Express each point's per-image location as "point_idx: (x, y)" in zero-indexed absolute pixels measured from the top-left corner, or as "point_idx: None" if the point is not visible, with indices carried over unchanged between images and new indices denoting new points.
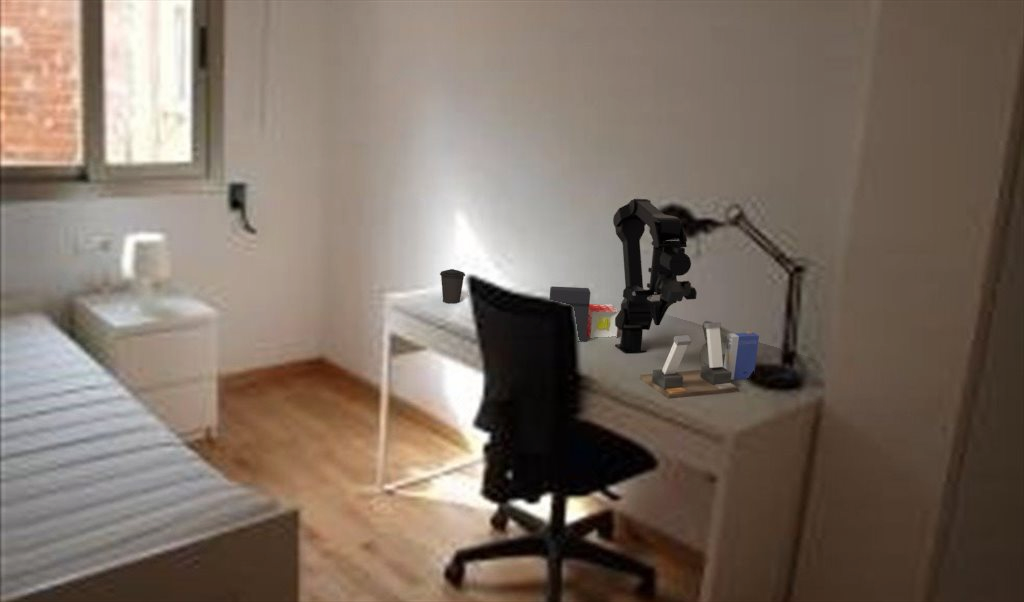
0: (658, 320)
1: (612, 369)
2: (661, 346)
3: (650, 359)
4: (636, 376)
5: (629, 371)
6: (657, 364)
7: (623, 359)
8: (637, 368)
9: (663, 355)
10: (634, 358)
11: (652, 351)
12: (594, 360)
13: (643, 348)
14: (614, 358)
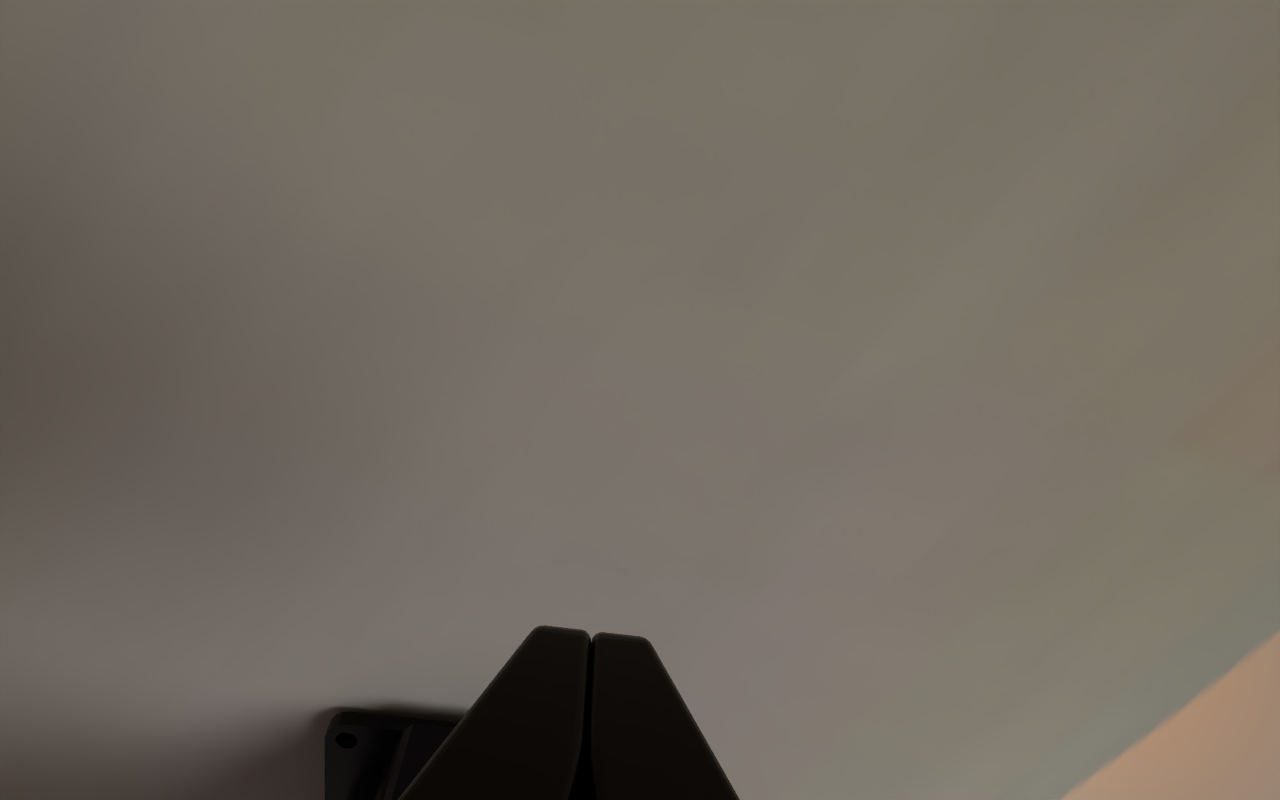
0: (620, 746)
1: (1155, 383)
2: (48, 783)
3: (422, 509)
4: (1081, 21)
5: (1008, 241)
6: (441, 333)
7: (752, 609)
8: (815, 300)
9: (173, 565)
10: (599, 595)
11: (240, 701)
12: (1095, 683)
13: (329, 768)
14: (830, 663)
